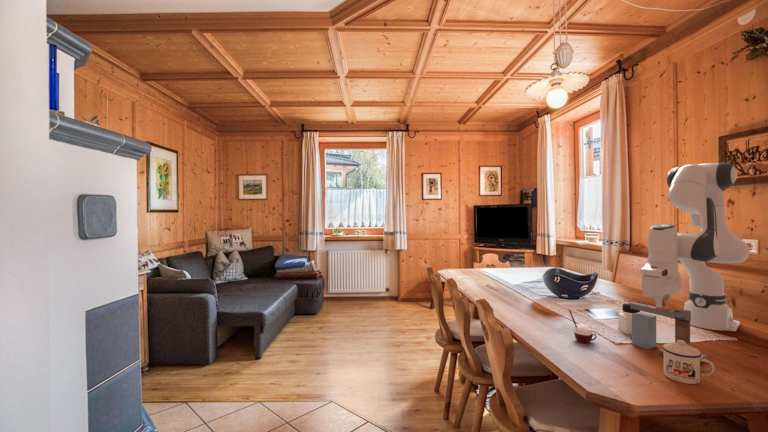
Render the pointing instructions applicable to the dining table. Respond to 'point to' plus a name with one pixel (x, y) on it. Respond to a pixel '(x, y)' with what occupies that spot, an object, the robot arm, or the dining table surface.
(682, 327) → the post
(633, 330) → the grey blue rectangular block
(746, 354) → the dining table surface
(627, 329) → the medicine bottle
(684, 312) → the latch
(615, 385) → the dining table surface
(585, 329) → the brown and white cup
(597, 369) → the dining table surface
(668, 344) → the teacup with lid
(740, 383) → the dining table surface
